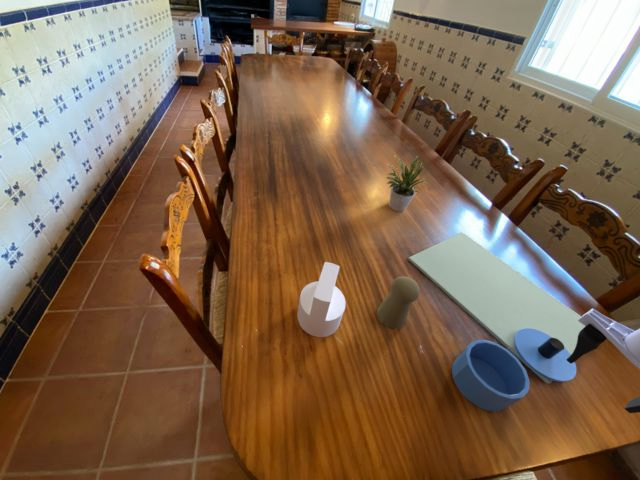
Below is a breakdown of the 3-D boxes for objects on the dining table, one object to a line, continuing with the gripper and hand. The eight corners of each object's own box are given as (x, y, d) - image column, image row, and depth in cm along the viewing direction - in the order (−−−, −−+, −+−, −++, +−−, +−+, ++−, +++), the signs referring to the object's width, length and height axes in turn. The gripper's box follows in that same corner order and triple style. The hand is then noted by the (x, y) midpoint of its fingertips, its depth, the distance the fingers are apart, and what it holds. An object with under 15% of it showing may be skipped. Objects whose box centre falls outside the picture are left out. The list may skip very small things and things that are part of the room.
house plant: (378, 186, 102) (392, 142, 91) (419, 198, 98) (439, 153, 88) (370, 209, 91) (384, 162, 81) (416, 223, 88) (437, 176, 77)
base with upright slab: (335, 343, 57) (347, 308, 50) (291, 328, 59) (296, 292, 52) (343, 305, 64) (355, 270, 56) (304, 293, 66) (310, 256, 58)
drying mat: (598, 332, 64) (601, 330, 63) (547, 384, 54) (550, 382, 54) (460, 234, 85) (462, 232, 85) (407, 259, 76) (408, 257, 76)
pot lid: (582, 366, 57) (600, 355, 54) (556, 394, 52) (575, 383, 49) (528, 323, 63) (541, 310, 60) (501, 344, 59) (514, 332, 56)
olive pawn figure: (409, 329, 61) (429, 298, 54) (380, 328, 61) (396, 296, 54) (401, 304, 65) (418, 272, 58) (374, 302, 65) (388, 270, 58)
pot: (520, 393, 53) (540, 379, 49) (488, 423, 49) (508, 411, 45) (472, 346, 59) (487, 331, 55) (440, 370, 55) (454, 355, 51)
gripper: (782, 379, 33) (670, 416, 42) (625, 282, 42) (560, 329, 51) (770, 414, 30) (652, 445, 39) (604, 302, 39) (539, 348, 48)
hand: (598, 381), depth 45 cm, fingers open, 7 cm apart
